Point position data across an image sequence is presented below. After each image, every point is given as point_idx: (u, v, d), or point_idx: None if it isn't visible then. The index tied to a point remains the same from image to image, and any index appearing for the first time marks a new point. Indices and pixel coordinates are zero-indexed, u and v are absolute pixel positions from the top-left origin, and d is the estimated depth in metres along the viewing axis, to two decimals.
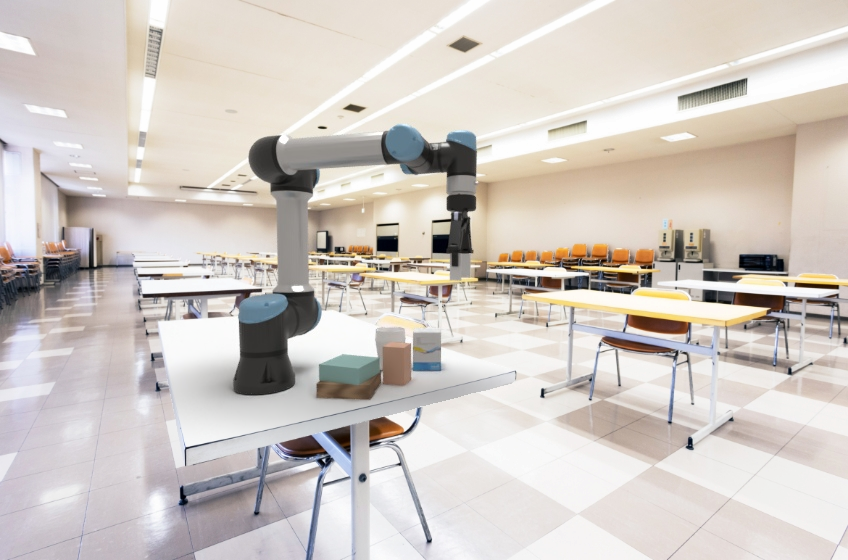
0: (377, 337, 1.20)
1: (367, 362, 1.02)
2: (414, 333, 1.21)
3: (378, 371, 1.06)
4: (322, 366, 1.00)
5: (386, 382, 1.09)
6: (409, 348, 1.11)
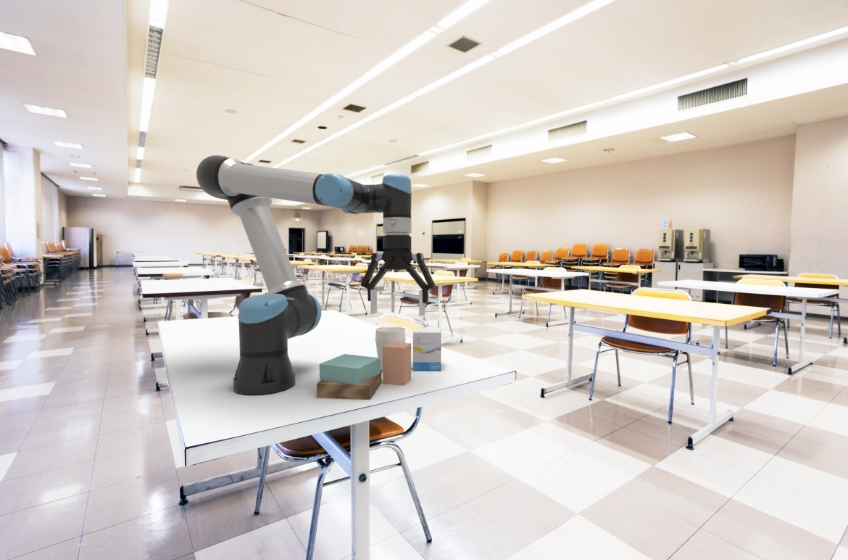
0: (377, 337, 1.20)
1: (367, 362, 1.02)
2: (414, 333, 1.21)
3: (379, 371, 1.06)
4: (322, 365, 1.00)
5: (386, 382, 1.09)
6: (409, 348, 1.11)
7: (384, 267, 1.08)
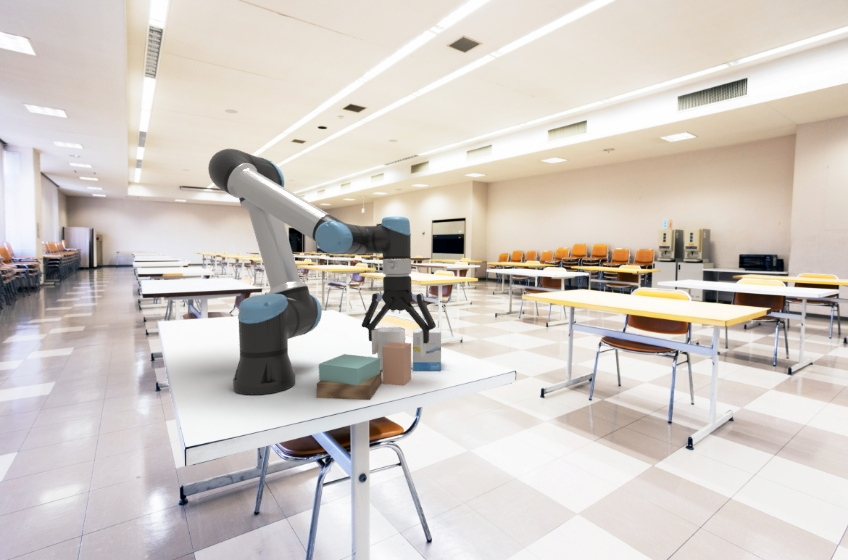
0: None
1: (367, 362, 1.02)
2: (414, 333, 1.21)
3: (378, 372, 1.06)
4: (321, 365, 1.00)
5: (386, 382, 1.09)
6: (409, 348, 1.11)
7: (385, 308, 1.09)
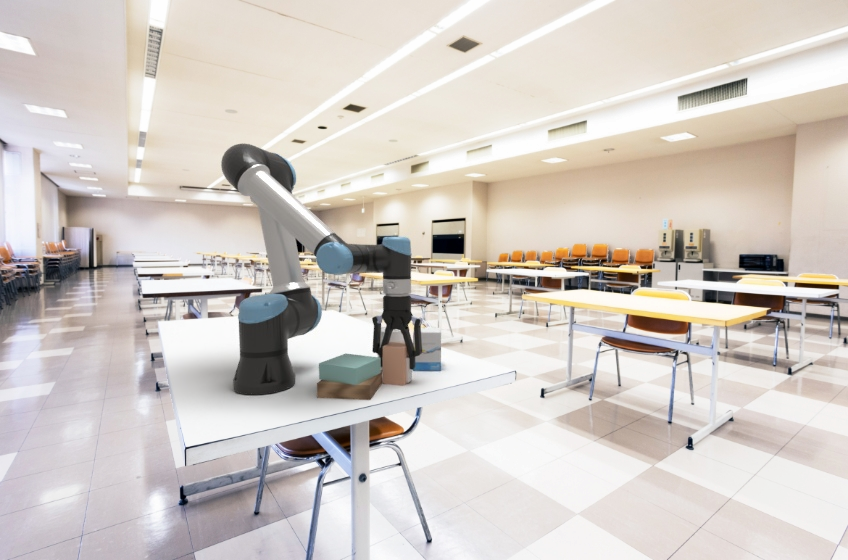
0: None
1: (366, 362, 1.02)
2: None
3: (379, 371, 1.06)
4: (321, 365, 1.01)
5: (386, 382, 1.09)
6: None
7: (387, 329, 1.09)
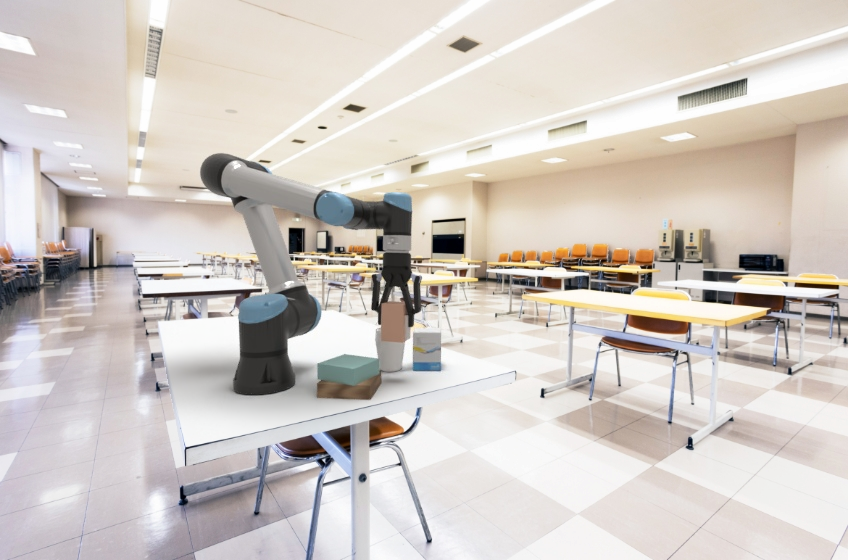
0: (377, 337, 1.20)
1: (365, 363, 1.01)
2: (414, 333, 1.21)
3: (377, 372, 1.06)
4: (320, 365, 1.01)
5: (384, 339, 1.08)
6: None
7: (387, 286, 1.08)
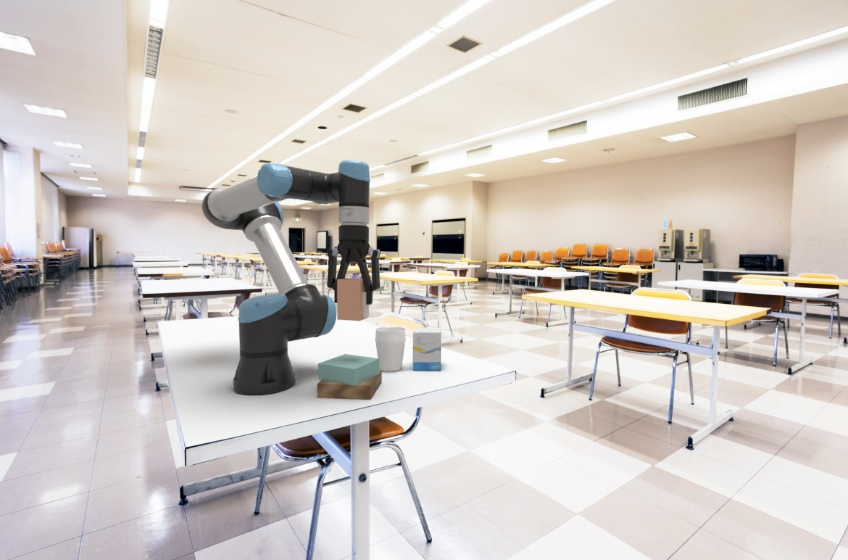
0: (377, 337, 1.20)
1: (365, 363, 1.01)
2: (414, 333, 1.21)
3: (378, 372, 1.06)
4: (320, 365, 1.01)
5: (341, 318, 1.01)
6: None
7: (343, 261, 1.02)
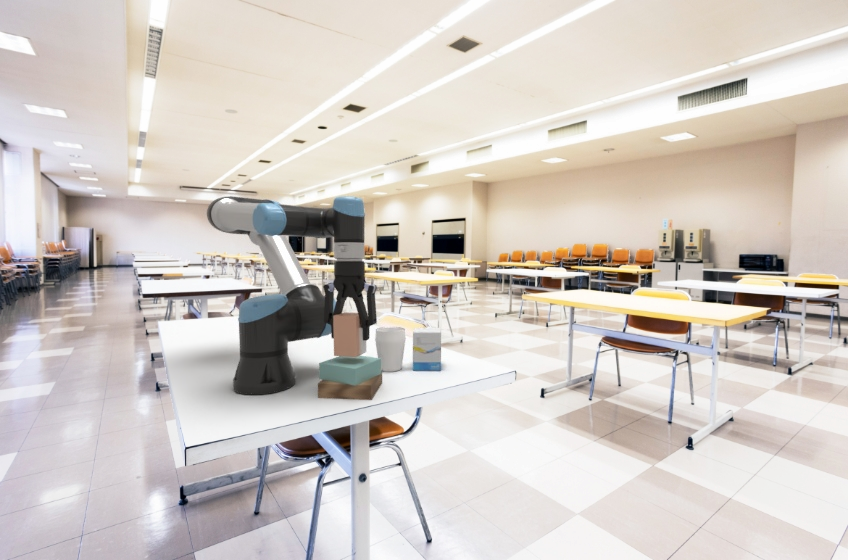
0: (377, 337, 1.20)
1: (367, 363, 1.01)
2: (414, 333, 1.21)
3: (379, 372, 1.05)
4: (321, 365, 1.01)
5: (337, 354, 1.01)
6: None
7: (339, 297, 1.01)
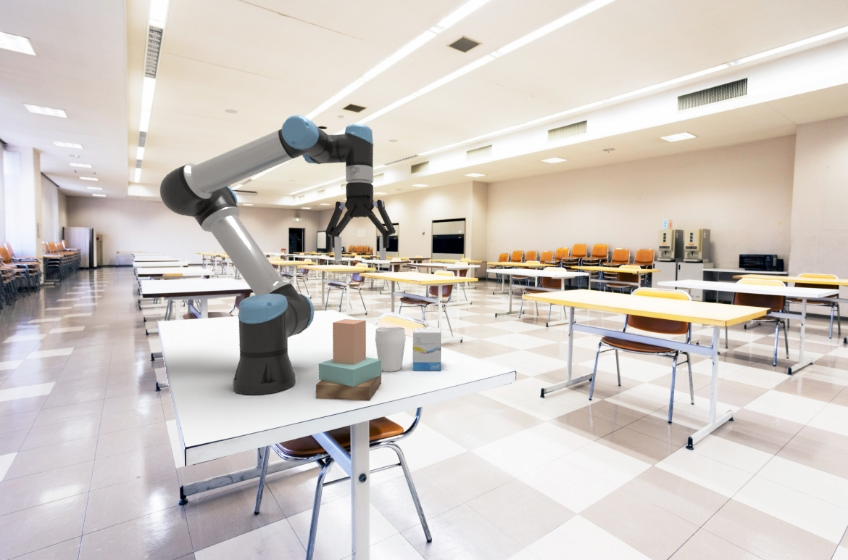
0: (377, 337, 1.20)
1: (366, 364, 1.01)
2: (414, 333, 1.21)
3: (379, 373, 1.05)
4: (321, 365, 1.01)
5: (336, 361, 1.02)
6: (363, 325, 1.04)
7: (347, 214, 1.14)
